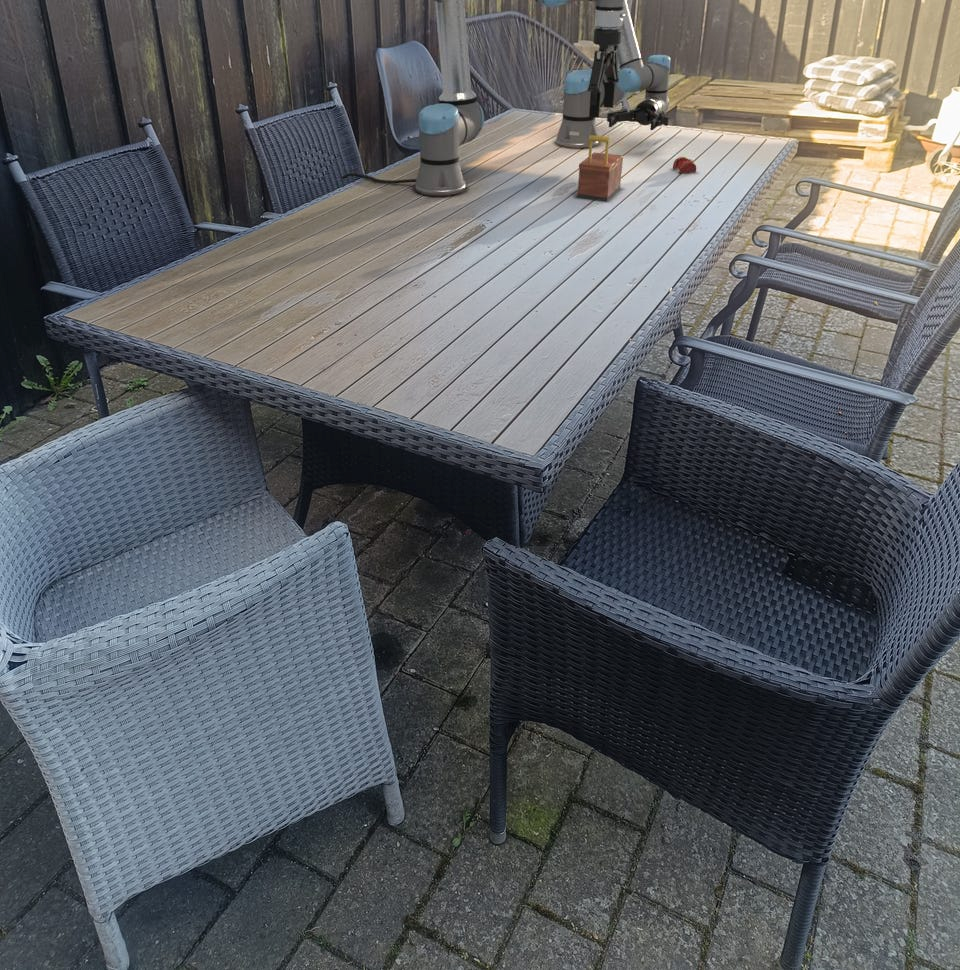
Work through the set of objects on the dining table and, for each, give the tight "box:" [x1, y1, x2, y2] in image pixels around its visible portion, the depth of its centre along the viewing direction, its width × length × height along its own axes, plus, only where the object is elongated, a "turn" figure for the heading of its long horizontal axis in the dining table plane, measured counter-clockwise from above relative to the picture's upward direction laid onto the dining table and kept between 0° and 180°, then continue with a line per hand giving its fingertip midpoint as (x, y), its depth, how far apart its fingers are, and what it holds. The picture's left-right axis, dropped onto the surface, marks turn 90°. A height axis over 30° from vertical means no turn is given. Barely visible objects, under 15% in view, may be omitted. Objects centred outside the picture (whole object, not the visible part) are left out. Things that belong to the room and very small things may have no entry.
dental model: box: [672, 156, 697, 174], centre depth 274 cm, size 6×4×8 cm
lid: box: [578, 135, 624, 171], centre depth 248 cm, size 14×9×9 cm, turn 156°
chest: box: [577, 159, 624, 202], centre depth 253 cm, size 14×9×9 cm
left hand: (601, 112), depth 239 cm, fingers open, 13 cm apart
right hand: (630, 124), depth 267 cm, fingers open, 13 cm apart
